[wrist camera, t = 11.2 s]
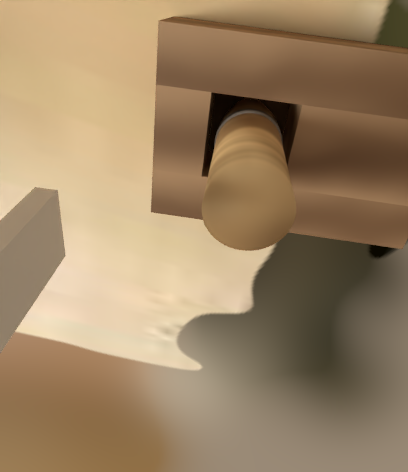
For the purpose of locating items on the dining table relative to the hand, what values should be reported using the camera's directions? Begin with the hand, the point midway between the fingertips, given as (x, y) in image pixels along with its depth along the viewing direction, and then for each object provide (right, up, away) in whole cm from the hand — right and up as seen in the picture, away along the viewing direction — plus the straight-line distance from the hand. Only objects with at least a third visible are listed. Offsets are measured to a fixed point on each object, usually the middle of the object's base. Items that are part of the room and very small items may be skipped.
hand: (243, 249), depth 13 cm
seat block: (+5, +9, +15) cm, 18 cm away
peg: (+2, +9, +15) cm, 17 cm away
